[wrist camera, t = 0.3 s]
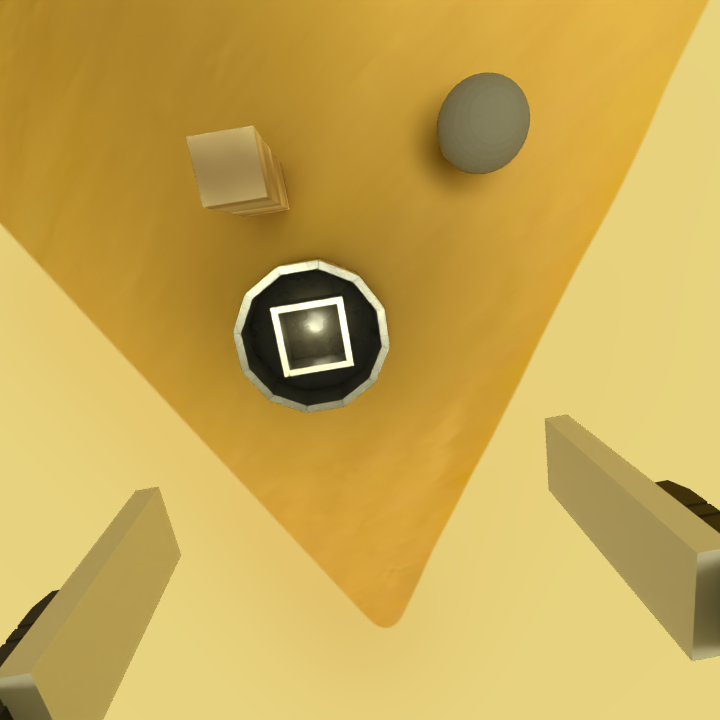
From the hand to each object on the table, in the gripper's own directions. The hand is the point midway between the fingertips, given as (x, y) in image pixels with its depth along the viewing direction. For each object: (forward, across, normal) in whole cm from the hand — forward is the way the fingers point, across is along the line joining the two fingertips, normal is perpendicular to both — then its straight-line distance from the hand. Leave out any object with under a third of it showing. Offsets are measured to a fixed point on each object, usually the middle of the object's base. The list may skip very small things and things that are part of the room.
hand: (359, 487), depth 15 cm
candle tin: (+26, -2, 0) cm, 26 cm away
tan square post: (+26, -4, +12) cm, 29 cm away
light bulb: (+26, +12, +13) cm, 32 cm away
